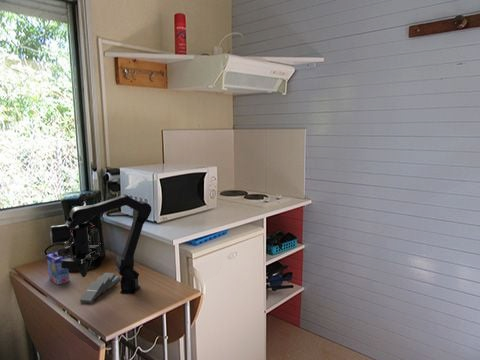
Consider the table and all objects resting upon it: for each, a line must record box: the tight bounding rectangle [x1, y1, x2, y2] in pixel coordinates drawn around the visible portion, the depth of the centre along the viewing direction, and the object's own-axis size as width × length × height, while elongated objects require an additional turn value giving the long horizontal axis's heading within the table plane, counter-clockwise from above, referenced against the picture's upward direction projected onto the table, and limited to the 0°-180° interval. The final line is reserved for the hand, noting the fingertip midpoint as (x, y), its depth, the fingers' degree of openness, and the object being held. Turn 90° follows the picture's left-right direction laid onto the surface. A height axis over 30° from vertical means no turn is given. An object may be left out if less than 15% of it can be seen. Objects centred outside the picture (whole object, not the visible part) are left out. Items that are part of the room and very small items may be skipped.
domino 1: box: [79, 280, 104, 304], centre depth 145 cm, size 5×2×10 cm
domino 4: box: [106, 275, 121, 290], centre depth 158 cm, size 5×2×10 cm
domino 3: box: [101, 272, 116, 294], centre depth 153 cm, size 5×2×10 cm
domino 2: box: [95, 275, 110, 299], centre depth 149 cm, size 5×2×10 cm
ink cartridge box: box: [46, 250, 70, 285], centre depth 161 cm, size 10×6×14 cm, turn 50°
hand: (84, 276), depth 140 cm, fingers closed
